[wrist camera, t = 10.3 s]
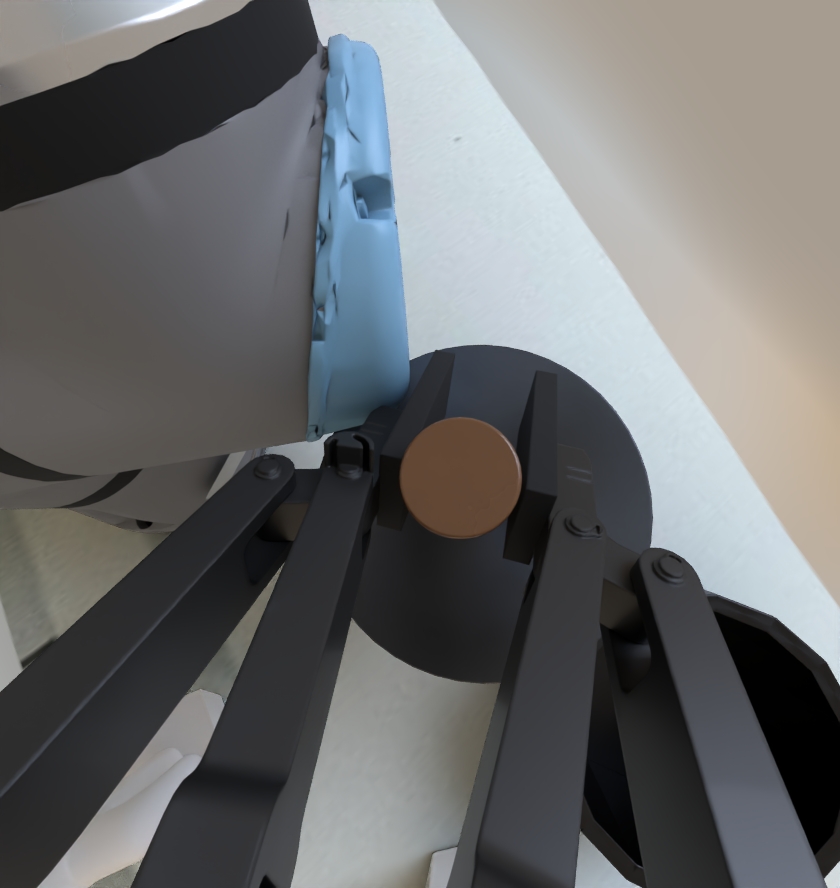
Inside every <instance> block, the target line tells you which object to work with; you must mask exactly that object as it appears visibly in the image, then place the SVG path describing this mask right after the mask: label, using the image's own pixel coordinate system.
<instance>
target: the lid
mask: <svg viewBox="0 0 840 888" xmlns="http://www.w3.org/2000/svg"><path fill="white" fill-rule="evenodd" d="M440 351H445V352H450V353H455V359H454V366H453V372H452V378H451V385H450V391H449V397H448V404H447V410H446V415H445V418H444V420H440V421H438V422H435V423H433V424H431V425H430V426H428V427H426V428H425V429H424V430H422V431H421V432H420V433H419V434H418V435H417V436H416V437H415V438H414V439H413V440H412V441H411V443H410V444H409V446H408V447H407V449H406V451H405V453H404V455H403V458H402V461H401V465H400V471H399V486H400V491H401V495H402V498H403V501H404V503H405V505H406V507H407V509H408V511H409V512H408V514H407V517H406V520H405V522H404V525H403V528H402V530H401V531H398V530H394V529H390V528H386V527H383V526H379V525H376V524H377V515H376V517H375V519H374V522H373V524H372V526H371V539H370V543H369V548H368V552H367V556H366V560H365V564H364V568H363V572H362V576H361V581H360V585H359V589H358V593H357V597H356V601H355V605H354V609H353V614H352V619H353V620H354V621H355V622H356V624H357V625H358V626H359V627H360V628H361V629H362V630H363V631H364V632H365V633H366V634H367V635H368V636H369V637H370V638H371V639H372V640H373V641H374V642H375V643H377V644H378V645H379V646H381V647H382V648H383V649H385V650H386V651H387V652H389V653H390V654H391V655H393V656H394V657H396V658H398V659H400V660H402V661H403V662H405V663H407V664H409V665H411V666H412V667H414V668H417V669H419V670H422V671H424V672H427V673H430V674H432V675H435V676H438V677H442V678H447V679H451V680H455V681H460V682H470V683H481V684H486V683H501V680H502V676H503V672H504V668H505V665H506V661H507V657H508V653H509V649H510V646H511V642H512V638H513V634H514V630H515V627H516V623H517V619H518V615H519V611H520V608H521V604H522V600H523V595H521V594H522V592H523V590H524V587H525V585H526V583H527V580H528V578H529V575H530V573H531V571H532V568H533V558H534V555H533V558H532V560H531V562H530V565H526V564H523V563H519V562H515V561H511V560H508V559H504V558H503V551H504V543H505V535H506V527H507V519H508V516H509V515H510V514H511V512H512V511H513V509H514V507H515V505H516V503H517V501H518V498H519V495H520V491H521V484H522V472H521V465H520V462H519V458H518V456H517V453H516V448H517V440H518V432H519V427H520V424H521V421H522V417H523V414H524V410H525V407H526V403H527V400H528V397H529V393H530V390H531V386H532V383H533V379H534V376H535V373H536V370H540V371H545V372H550V373H555V374H557V443H558V444H562V445H567V446H571V447H576V448H580V449H584V451H585V452H586V454H587V455H588V457H589V458H590V460H591V465H592V475H593V484H594V494H595V504H596V514H597V518H598V519H599V520H600V521H601V522H602V524H603V525H604V527H605V528H606V533H607V536H609V537H610V538H611V539H612V540H614V541H615V542H617V543H618V544H620V545H622V546H624V547H626V548H628V549H630V550H632V551H634V552H636V553H638V554H640V555H641V553H642V552H643V551H644V550H646V549H649V548H650V544H651V535H652V522H653V514H652V499H651V491H650V486H649V481H648V476H647V472H646V469H645V466H644V463H643V460H642V457H641V455H640V452H639V449H638V447H637V445H636V443H635V441H634V439H633V437H632V436H631V434H630V432H629V430H628V428H627V427H626V425H625V424H624V422H623V421H622V419H621V418H620V417H619V415H618V414H617V412H616V411H615V410H614V409H613V407H612V406H611V405H610V404H609V403H608V402H607V401H606V400H605V399H604V397H603V396H602V395H601V394H600V393H599V392H597V391H596V390H595V389H594V388H593V387H592V386H591V385H589V384H588V383H587V382H586V381H585V380H583V379H582V378H580V377H579V376H577V375H576V374H574V373H573V372H571V371H570V370H568V369H567V368H565V367H563V366H561V365H559V364H557V363H555V362H553V361H551V360H549V359H547V358H544V357H541V356H539V355H536V354H533V353H530V352H527V351H523V350H518V349H514V348H509V347H502V346H492V345H467V346H459V347H452V348H446V349H442V350H440ZM433 354H434V352H431V353H427V354H424V355H422V356H420V357H417V358H415V359H412V360H410V361H409V365H410V381H409V386H408V390H407V393H406V396H405V397H404V399H403V401H402V403H401V404H400V405H399V406H398V408H397V409H400V410H404V408H405V406H406V404H407V402H408V400H409V399H410V397H411V395H412V393H413V391H414V389H415V387H416V386H417V384H418V382H419V380H420V378H421V376H422V374H423V372H424V371H425V369H426V367H427V365H428V363H429V361H430V359H431V358H432V356H433ZM361 427H362V425H359V426H355V427H351V428H348V429H344V430H340V431H336V432H334V433H333V434H335V433H339V432H343V431H355V432H358V431H360V428H361ZM324 467H325V455H324V457H323V460H322V463H321V466H320V468H324ZM601 637H602V635H601V630H600V623H599V630H598V640H599V639H600V638H601Z"/></svg>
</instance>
